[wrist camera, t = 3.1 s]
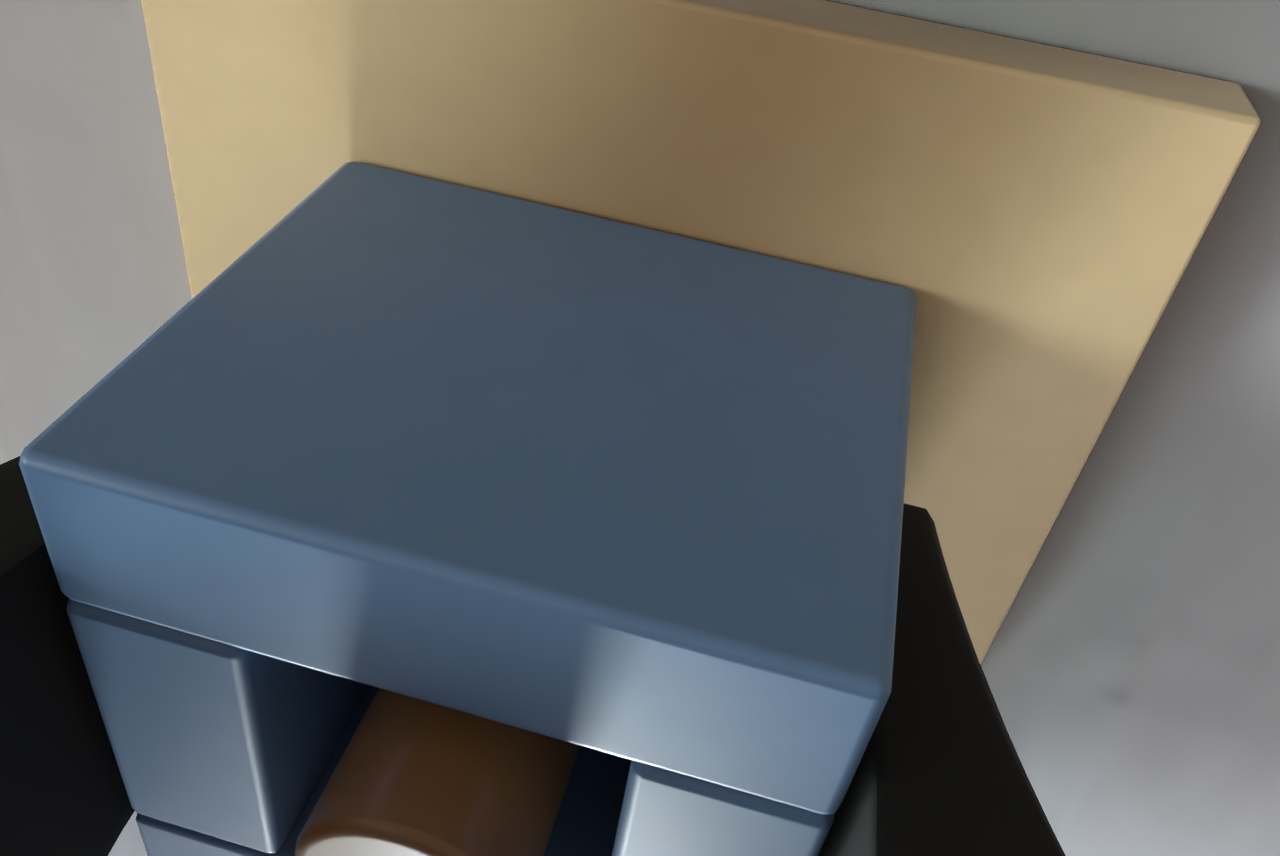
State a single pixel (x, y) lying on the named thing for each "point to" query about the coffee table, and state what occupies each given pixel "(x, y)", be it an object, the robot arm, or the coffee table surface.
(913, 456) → the dowel stand
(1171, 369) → the coffee table surface
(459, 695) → the blue block
